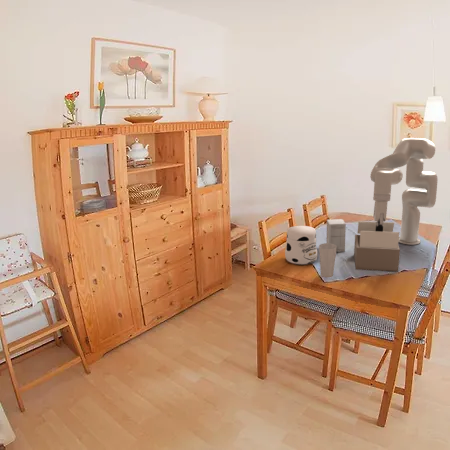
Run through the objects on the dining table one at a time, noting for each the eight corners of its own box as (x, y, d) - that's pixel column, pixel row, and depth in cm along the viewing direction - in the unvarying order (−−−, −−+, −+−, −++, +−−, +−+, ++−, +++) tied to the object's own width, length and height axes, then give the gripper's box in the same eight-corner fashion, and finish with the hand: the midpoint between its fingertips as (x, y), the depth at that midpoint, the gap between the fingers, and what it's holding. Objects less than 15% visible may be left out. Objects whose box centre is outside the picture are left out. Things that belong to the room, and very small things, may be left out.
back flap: (357, 233, 212) (357, 233, 212) (392, 234, 207) (392, 234, 208) (358, 222, 206) (358, 221, 207) (394, 223, 202) (394, 222, 202)
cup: (336, 279, 189) (337, 249, 184) (318, 278, 190) (319, 249, 186) (335, 272, 196) (336, 243, 192) (318, 271, 198) (318, 242, 194)
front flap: (360, 230, 191) (360, 231, 190) (399, 232, 186) (399, 232, 186) (359, 246, 194) (359, 246, 193) (397, 248, 189) (397, 248, 189)
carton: (354, 254, 216) (355, 234, 213) (392, 256, 211) (394, 236, 207) (355, 269, 198) (356, 247, 194) (398, 272, 193) (400, 249, 189)
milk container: (315, 268, 201) (316, 236, 196) (282, 266, 207) (282, 234, 201) (318, 256, 217) (319, 225, 212) (287, 254, 222) (287, 224, 217)
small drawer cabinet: (342, 246, 230) (343, 218, 225) (345, 251, 221) (346, 223, 216) (325, 246, 231) (326, 219, 226) (328, 252, 222) (329, 224, 217)
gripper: (372, 193, 193) (369, 228, 198) (374, 200, 179) (372, 238, 184) (388, 193, 191) (385, 229, 196) (392, 200, 177) (389, 238, 182)
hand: (379, 233), depth 190 cm, fingers closed
